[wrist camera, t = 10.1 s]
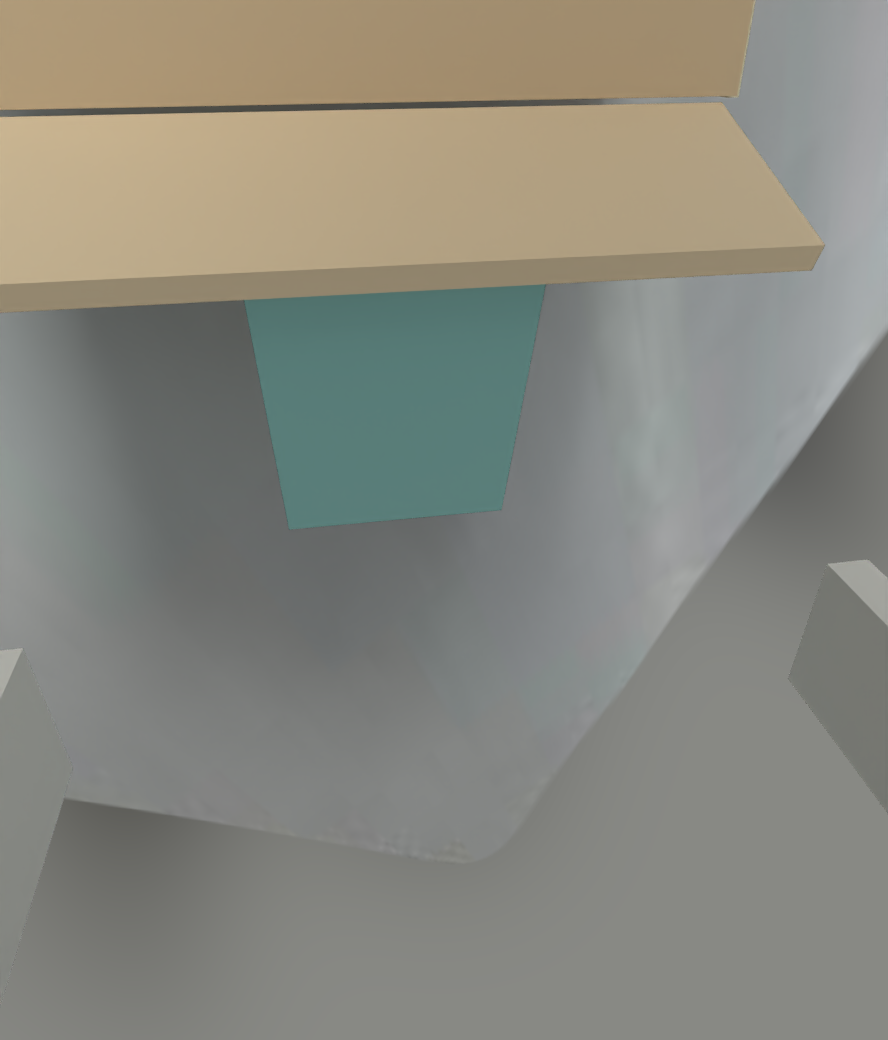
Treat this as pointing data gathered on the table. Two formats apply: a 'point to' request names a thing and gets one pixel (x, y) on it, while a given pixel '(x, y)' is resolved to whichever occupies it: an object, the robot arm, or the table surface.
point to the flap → (385, 259)
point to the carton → (365, 51)
